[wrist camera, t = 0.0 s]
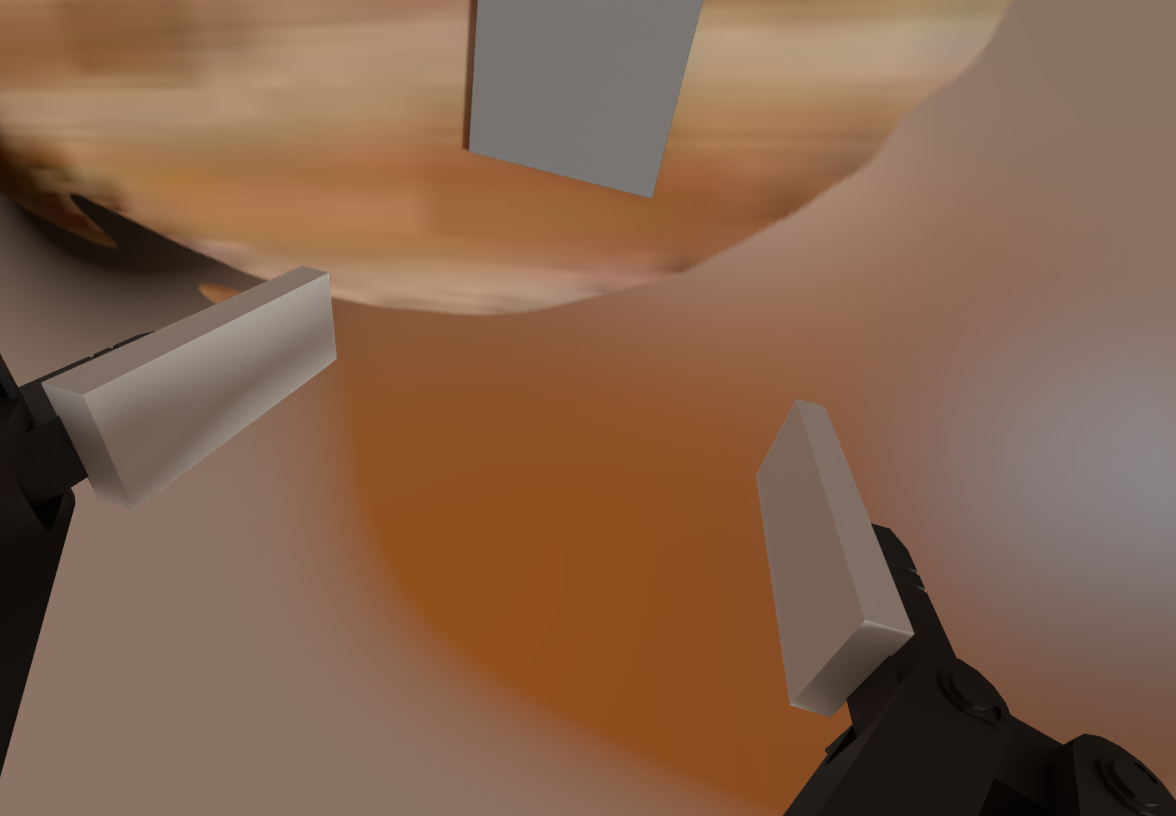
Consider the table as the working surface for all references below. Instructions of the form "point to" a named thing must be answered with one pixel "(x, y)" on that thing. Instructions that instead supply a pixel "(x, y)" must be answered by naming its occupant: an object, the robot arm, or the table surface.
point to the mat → (580, 85)
